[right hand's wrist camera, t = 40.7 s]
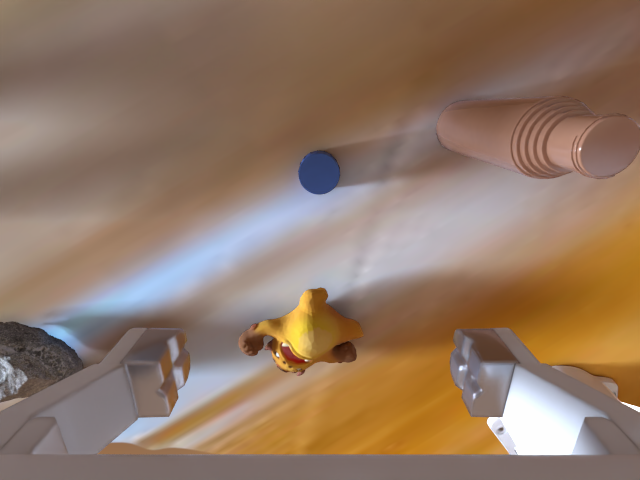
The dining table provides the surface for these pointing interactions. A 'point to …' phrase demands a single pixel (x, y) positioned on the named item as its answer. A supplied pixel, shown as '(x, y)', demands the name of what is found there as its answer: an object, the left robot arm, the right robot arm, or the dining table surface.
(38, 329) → the rock
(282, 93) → the dining table surface
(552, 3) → the dining table surface
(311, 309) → the toy
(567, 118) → the bottle
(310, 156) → the cap
